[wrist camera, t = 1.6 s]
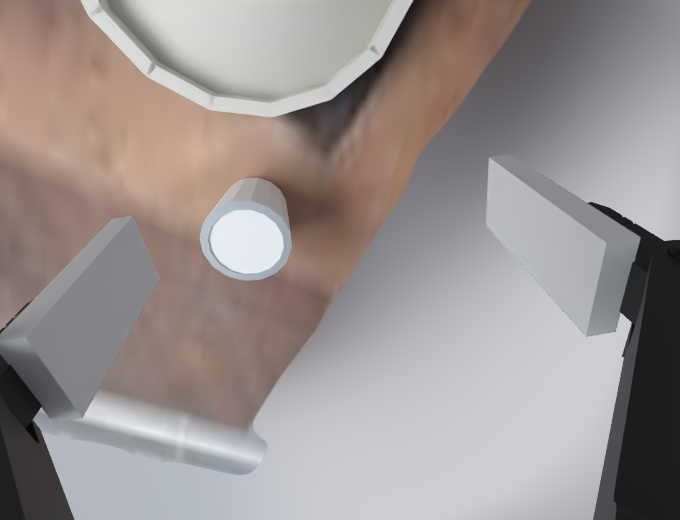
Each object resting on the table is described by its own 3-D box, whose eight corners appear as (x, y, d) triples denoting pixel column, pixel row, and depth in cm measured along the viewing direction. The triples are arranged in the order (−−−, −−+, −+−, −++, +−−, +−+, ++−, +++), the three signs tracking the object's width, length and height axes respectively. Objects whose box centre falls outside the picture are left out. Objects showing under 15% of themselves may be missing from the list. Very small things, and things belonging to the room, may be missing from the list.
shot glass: (217, 164, 34) (200, 194, 28) (298, 176, 36) (297, 208, 30) (215, 236, 38) (198, 276, 32) (288, 245, 39) (286, 286, 33)
